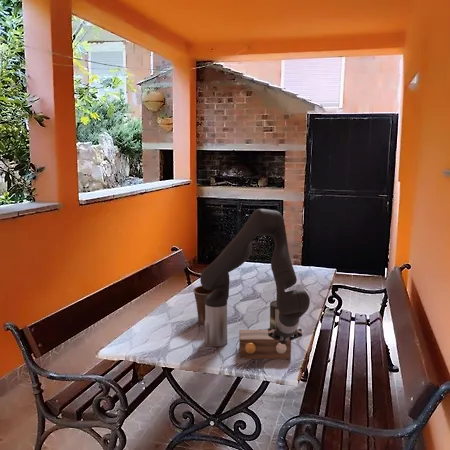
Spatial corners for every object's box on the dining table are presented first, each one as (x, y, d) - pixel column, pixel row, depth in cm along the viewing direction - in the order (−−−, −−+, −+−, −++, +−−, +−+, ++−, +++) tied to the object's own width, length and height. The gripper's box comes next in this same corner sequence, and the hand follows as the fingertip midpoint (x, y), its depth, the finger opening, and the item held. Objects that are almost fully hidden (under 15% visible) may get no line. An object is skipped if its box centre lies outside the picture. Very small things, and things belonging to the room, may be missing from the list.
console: (290, 358, 190) (291, 339, 189) (240, 358, 190) (240, 339, 189) (287, 348, 200) (288, 329, 198) (239, 348, 200) (239, 329, 199)
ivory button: (286, 353, 188) (286, 343, 187) (276, 353, 188) (276, 343, 187) (284, 346, 194) (284, 337, 193) (274, 346, 194) (274, 337, 193)
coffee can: (265, 334, 215) (265, 303, 212) (277, 327, 223) (278, 298, 220) (284, 340, 208) (285, 308, 206) (297, 333, 216) (297, 302, 214)
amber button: (255, 353, 188) (255, 343, 187) (245, 353, 188) (245, 343, 187) (254, 346, 194) (254, 337, 193) (244, 346, 194) (244, 337, 193)
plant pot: (197, 329, 220) (197, 295, 218) (190, 317, 236) (190, 286, 233) (231, 326, 225) (231, 292, 222) (222, 314, 240) (222, 283, 237)
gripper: (305, 313, 169) (299, 332, 184) (267, 312, 169) (264, 332, 184) (307, 333, 165) (301, 351, 179) (268, 332, 165) (265, 351, 179)
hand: (282, 341), depth 181 cm, fingers closed
